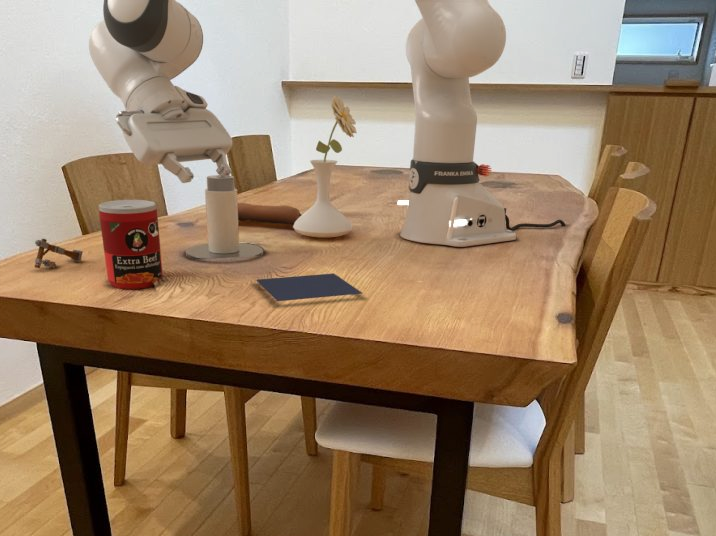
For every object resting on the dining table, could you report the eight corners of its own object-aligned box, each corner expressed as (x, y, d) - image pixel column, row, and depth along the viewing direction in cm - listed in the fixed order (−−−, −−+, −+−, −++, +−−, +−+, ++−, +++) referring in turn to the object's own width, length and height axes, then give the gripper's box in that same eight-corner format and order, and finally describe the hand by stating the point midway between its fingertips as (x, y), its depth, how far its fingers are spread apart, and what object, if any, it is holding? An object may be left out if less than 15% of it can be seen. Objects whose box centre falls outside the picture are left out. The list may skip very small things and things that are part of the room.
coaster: (252, 243, 120) (252, 240, 120) (272, 259, 109) (272, 256, 109) (180, 248, 116) (179, 244, 115) (193, 265, 104) (192, 261, 104)
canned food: (113, 292, 90) (103, 210, 86) (103, 278, 96) (93, 201, 92) (169, 286, 93) (162, 206, 89) (156, 272, 100) (148, 198, 95)
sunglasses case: (313, 221, 139) (308, 195, 133) (304, 243, 135) (298, 218, 129) (235, 215, 143) (227, 190, 138) (223, 237, 139) (215, 212, 134)
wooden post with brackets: (26, 265, 99) (32, 235, 98) (69, 276, 106) (75, 248, 106) (34, 267, 98) (40, 237, 98) (77, 277, 105) (83, 250, 105)
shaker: (235, 246, 115) (232, 174, 110) (242, 252, 111) (239, 178, 106) (205, 248, 113) (201, 175, 108) (211, 254, 109) (207, 179, 104)
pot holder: (333, 278, 99) (333, 273, 98) (362, 298, 89) (362, 293, 89) (255, 284, 95) (255, 279, 94) (277, 306, 85) (277, 300, 85)
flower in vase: (323, 244, 120) (325, 95, 110) (280, 235, 127) (279, 93, 117) (369, 235, 129) (375, 95, 119) (327, 226, 136) (329, 94, 126)
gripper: (119, 96, 99) (172, 169, 98) (209, 97, 115) (256, 159, 114) (102, 127, 103) (153, 197, 102) (192, 123, 119) (237, 184, 118)
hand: (208, 177), depth 108 cm, fingers open, 8 cm apart
